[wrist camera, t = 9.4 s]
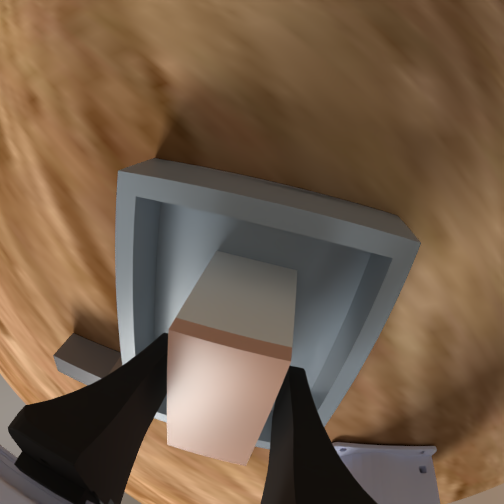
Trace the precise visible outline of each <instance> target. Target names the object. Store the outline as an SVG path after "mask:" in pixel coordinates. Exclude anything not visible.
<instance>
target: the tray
mask: <svg viewBox="0 0 504 504" xmlns="http://www.w3.org/2000/svg"><path fill="white" fill-rule="evenodd" d="M420 244H421V242H420V241H419V240H418V239H417V237H416V236H415V235H414V234H413V233H412V231H411V230H410V229H409V228H408V227H407V226H406V224H405V223H404V222H403V221H402V220H401V219H400V218H399V217H398V216H397V215H394V214H391V213H387V212H384V211H381V210H377V209H374V208H371V207H367V206H364V205H360V204H357V203H353V202H350V201H346V200H343V199H339V198H335V197H332V196H328V195H324V194H320V193H316V192H312V191H309V190H305V189H301V188H297V187H293V186H288V185H284V184H280V183H276V182H272V181H267V180H263V179H259V178H254V177H250V176H245V175H240V174H236V173H231V172H226V171H221V170H216V169H211V168H206V167H201V166H196V165H191V164H185V163H180V162H174V161H168V160H163V159H157V158H153V159H150V160H147V161H144V162H141V163H138V164H136V165H133V166H130V167H127V168H124V169H122V170H119V171H118V181H117V199H116V230H115V264H116V295H117V313H118V327H119V338H120V349H121V358H122V365H124V364H125V363H127V362H128V361H129V360H131V359H132V358H133V357H135V356H136V355H137V354H139V353H140V352H141V351H142V350H144V349H145V348H146V347H147V346H149V345H150V344H151V343H152V342H153V341H154V340H156V339H157V338H158V337H159V336H160V335H161V334H163V333H168V329H169V328H170V326H171V324H172V323H173V321H174V319H175V318H176V316H177V314H178V313H179V311H180V309H181V308H182V306H183V304H184V303H185V301H186V300H187V298H188V296H189V295H190V293H191V291H192V290H193V288H194V286H195V285H196V283H197V281H198V280H199V278H200V277H201V275H202V273H203V272H204V270H205V268H206V267H207V265H208V264H209V262H210V260H211V259H212V257H213V256H214V254H215V252H216V251H220V252H224V253H228V254H232V255H236V256H240V257H244V258H249V259H253V260H257V261H261V262H265V263H269V264H273V265H277V266H281V267H285V268H289V269H294V270H297V285H296V302H295V317H294V331H293V345H292V357H291V363H290V366H295V367H299V368H304V370H305V371H306V376H307V380H308V384H309V387H310V391H311V394H312V397H313V400H314V403H315V406H316V408H317V411H318V414H319V416H320V419H321V421H322V424H323V426H324V427H325V425H326V424H327V422H328V421H329V419H330V418H331V416H332V415H333V413H334V412H335V410H336V408H337V407H338V405H339V404H340V402H341V401H342V399H343V397H344V396H345V394H346V393H347V391H348V389H349V388H350V386H351V384H352V383H353V381H354V379H355V378H356V376H357V374H358V373H359V371H360V369H361V367H362V366H363V364H364V362H365V360H366V359H367V357H368V355H369V353H370V351H371V350H372V348H373V346H374V344H375V342H376V340H377V338H378V336H379V334H380V333H381V331H382V329H383V327H384V325H385V323H386V321H387V319H388V317H389V315H390V313H391V311H392V309H393V306H394V304H395V302H396V300H397V298H398V296H399V294H400V291H401V289H402V287H403V285H404V283H405V280H406V278H407V276H408V273H409V271H410V269H411V266H412V264H413V262H414V259H415V257H416V254H417V252H418V249H419V247H420ZM274 405H275V402H274V404H273V407H272V409H271V411H270V414H269V416H268V418H267V421H266V423H265V425H264V427H263V430H262V432H261V434H260V436H259V438H258V441H257V443H256V445H255V446H256V447H261V448H266V449H270V441H271V427H272V416H273V411H274ZM154 418H155V419H158V420H161V421H164V422H167V394H166V396H165V398H164V400H163V402H162V404H161V406H160V407H159V409H158V411H157V413H156V415H155V417H154Z"/></svg>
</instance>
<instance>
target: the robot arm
mask: <svg viewBox="0 0 504 504" xmlns="http://www.w3.org/2000/svg"><path fill="white" fill-rule="evenodd" d="M167 356H168V333H163V334H161V335H160V336H159V337H158V338H157V339H156V340H154V341H153V342H152V343H151V344H150V345H149V346H147V347H146V348H145V349H144V350H142V351H141V352H140V353H139V354H137V355H136V356H135V357H133V358H132V359H131V360H129V361H128V362H127V363H125V364H124V365H122V366H121V367H119V368H118V369H116V370H115V371H113V372H112V373H110V374H108V375H107V376H105V377H103V378H101V379H100V380H98V381H96V382H94V383H92V384H90V385H88V386H86V387H84V388H81V389H79V390H77V391H74V392H72V393H69V394H66V395H63V396H60V397H57V398H55V399H51V400H48V401H44V402H39V403H35V404H30V405H25V406H24V407H23V409H22V410H21V411H20V412H19V413H18V414H17V416H16V417H15V419H14V420H13V421H12V422H11V424H10V425H9V427H8V431H9V433H10V435H11V437H12V438H13V439H14V441H15V442H16V443H17V445H18V446H19V447H20V448H21V450H22V453H21V454H20V456H19V457H18V458H17V457H15V456H14V455H13V454H11V453H10V452H9V451H7V450H6V449H5V448H4V447H2V446H1V445H0V504H121V500H122V497H123V494H124V490H125V487H126V484H127V481H128V478H129V475H130V472H131V470H132V467H133V464H134V461H135V459H136V456H137V453H138V451H139V448H140V446H141V443H142V441H143V438H144V436H145V434H146V432H147V430H148V428H149V426H150V424H151V422H152V420H153V418H154V417H155V415H156V413H157V411H158V409H159V407H160V406H161V404H162V402H163V400H164V398H165V396H166V394H167ZM436 451H437V449H436V446H386V445H368V444H355V443H344V442H334V443H332V442H331V441H330V439H329V437H328V435H327V432H326V430H325V428H324V426H323V424H322V421H321V419H320V416H319V414H318V411H317V408H316V406H315V403H314V400H313V397H312V394H311V391H310V387H309V384H308V380H307V376H306V371H305V370H304V368H299V367H295V366H289V368H288V371H287V373H286V376H285V378H284V381H283V383H282V385H281V388H280V390H279V393H278V395H277V397H276V400H275V405H274V411H273V416H272V427H271V441H270V454H269V465H268V472H267V477H266V482H265V487H264V492H263V496H262V500H261V504H440V499H439V493H438V487H437V481H436V476H435V471H434V466H433V461H432V455H433V454H434V453H435V452H436Z"/></svg>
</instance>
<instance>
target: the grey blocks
mask: <svg viewBox="0 0 504 504" xmlns="http://www.w3.org/2000/svg"><path fill="white" fill-rule="evenodd" d="M53 356H54V359H55V363H56V366H57V369H58V371H59V372H61V373H63V374H65V375H67V376H69V377H71V378H73V379H75V380H77V381H79V382H81V383H84V384H86V385H90V384H92V383H94V382H96V381H98V380H100V379H101V378H103V377H105V376H107V375H108V374H110V373H112V372H113V371H115V370H116V369H118V368H119V367H121V366H122V358H121V353H120V352H117V351H115V350H112V349H110V348H107V347H105V346H102V345H100V344H97V343H95V342H93V341H90V340H88V339H85V338H83V337H81V336H79V335H76V334H74V333H73V334H72V335H71V336H70V337H69V338H68V339H67V340H66V342H65V343H64V344H63V345H62V346H61V347H60V348H59V349H58V351H57V352H56V353H55V354H54V355H53Z"/></svg>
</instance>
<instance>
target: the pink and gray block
mask: <svg viewBox="0 0 504 504" xmlns="http://www.w3.org/2000/svg"><path fill="white" fill-rule="evenodd" d="M296 285H297V270H294V269H289V268H285V267H281V266H277V265H273V264H269V263H265V262H261V261H257V260H253V259H249V258H244V257H240V256H236V255H232V254H228V253H224V252H220V251H216V252H215V254H214V256H213V257H212V259H211V260H210V262H209V264H208V265H207V267H206V268H205V270H204V272H203V273H202V275H201V277H200V278H199V280H198V281H197V283H196V285H195V286H194V288H193V290H192V291H191V293H190V295H189V296H188V298H187V300H186V301H185V303H184V304H183V306H182V308H181V309H180V311H179V313H178V314H177V316H176V318H175V319H174V321H173V323H172V324H171V326H170V328H169V329H168V356H167V445H170V446H173V447H176V448H179V449H183V450H186V451H189V452H193V453H196V454H200V455H203V456H207V457H211V458H214V459H218V460H222V461H226V462H231V463H235V464H240V465H244V466H246V464H247V462H248V460H249V458H250V456H251V454H252V451H253V449H254V447H255V445H256V443H257V441H258V438H259V436H260V434H261V432H262V430H263V427H264V425H265V423H266V421H267V418H268V416H269V414H270V411H271V409H272V407H273V404H274V402H275V400H276V397H277V395H278V393H279V390H280V388H281V385H282V383H283V381H284V378H285V376H286V373H287V371H288V368H289V366H290V363H291V357H292V345H293V331H294V317H295V302H296Z"/></svg>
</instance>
